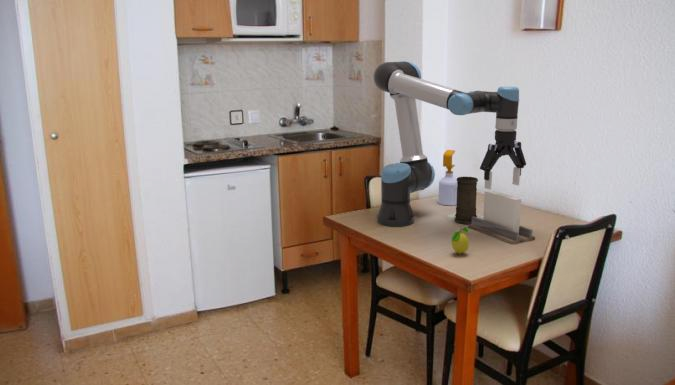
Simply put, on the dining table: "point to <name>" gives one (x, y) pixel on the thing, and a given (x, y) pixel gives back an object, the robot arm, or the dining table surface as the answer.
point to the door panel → (502, 210)
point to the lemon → (460, 241)
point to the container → (466, 199)
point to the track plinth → (502, 231)
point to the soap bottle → (448, 182)
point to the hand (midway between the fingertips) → (501, 186)
